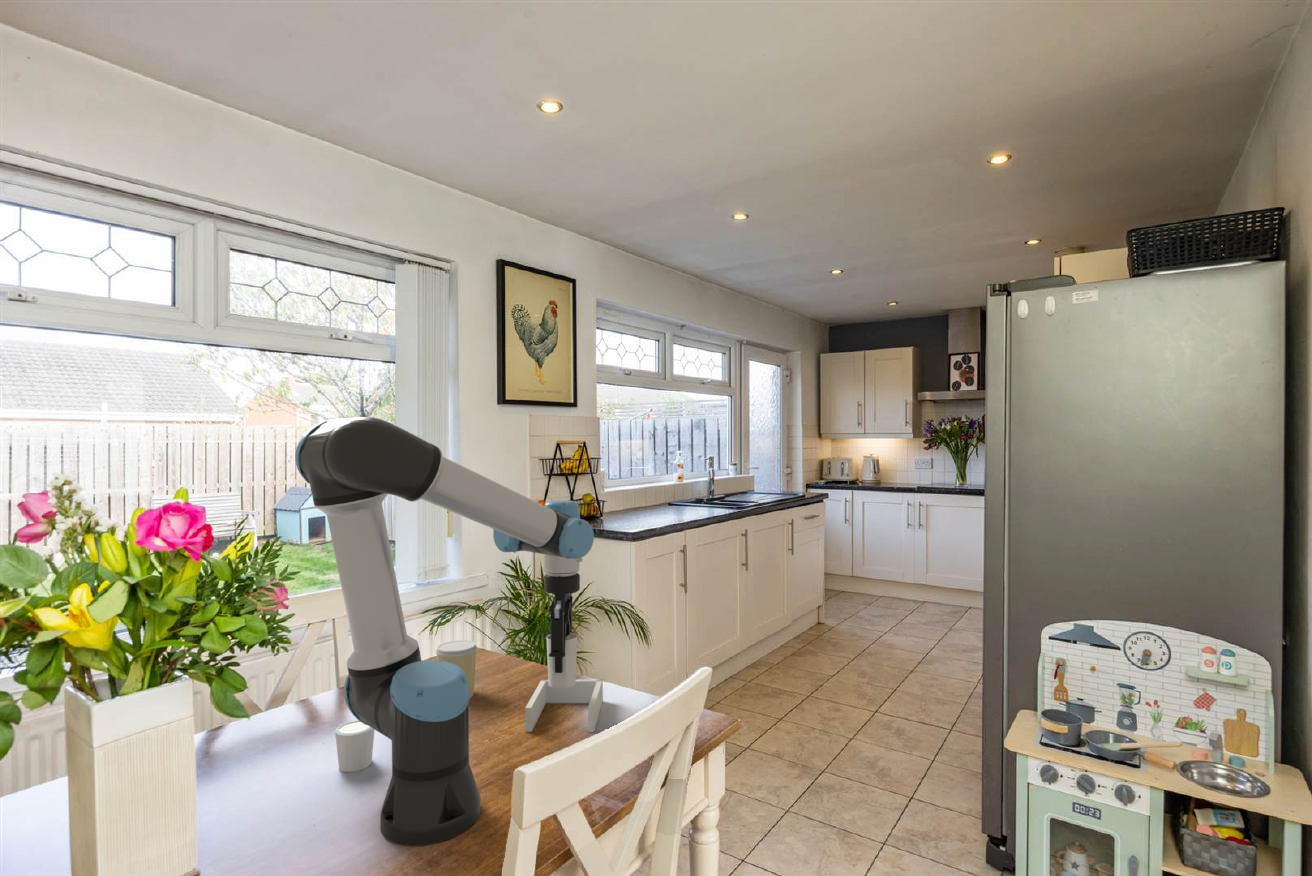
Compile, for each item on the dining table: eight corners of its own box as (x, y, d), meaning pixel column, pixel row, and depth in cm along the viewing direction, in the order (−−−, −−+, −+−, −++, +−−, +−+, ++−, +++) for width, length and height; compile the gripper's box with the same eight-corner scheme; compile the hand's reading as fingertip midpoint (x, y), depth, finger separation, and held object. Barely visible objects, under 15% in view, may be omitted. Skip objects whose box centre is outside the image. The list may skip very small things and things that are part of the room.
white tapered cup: (331, 776, 121) (331, 737, 121) (338, 758, 127) (338, 722, 128) (372, 770, 123) (372, 732, 123) (377, 754, 129) (377, 717, 129)
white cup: (580, 678, 146) (580, 632, 146) (573, 689, 139) (573, 641, 139) (550, 677, 147) (550, 631, 147) (542, 688, 140) (542, 640, 140)
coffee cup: (433, 693, 161) (433, 643, 161) (473, 686, 165) (473, 638, 165) (438, 706, 153) (438, 653, 153) (480, 699, 157) (480, 648, 157)
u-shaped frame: (525, 732, 138) (525, 707, 138) (541, 701, 155) (541, 679, 155) (594, 732, 138) (593, 707, 138) (602, 701, 155) (602, 679, 155)
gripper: (572, 581, 134) (572, 698, 133) (585, 565, 153) (585, 668, 152) (535, 581, 134) (535, 697, 134) (552, 565, 153) (552, 667, 152)
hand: (561, 681), depth 143 cm, fingers closed on white cup, 6 cm apart
